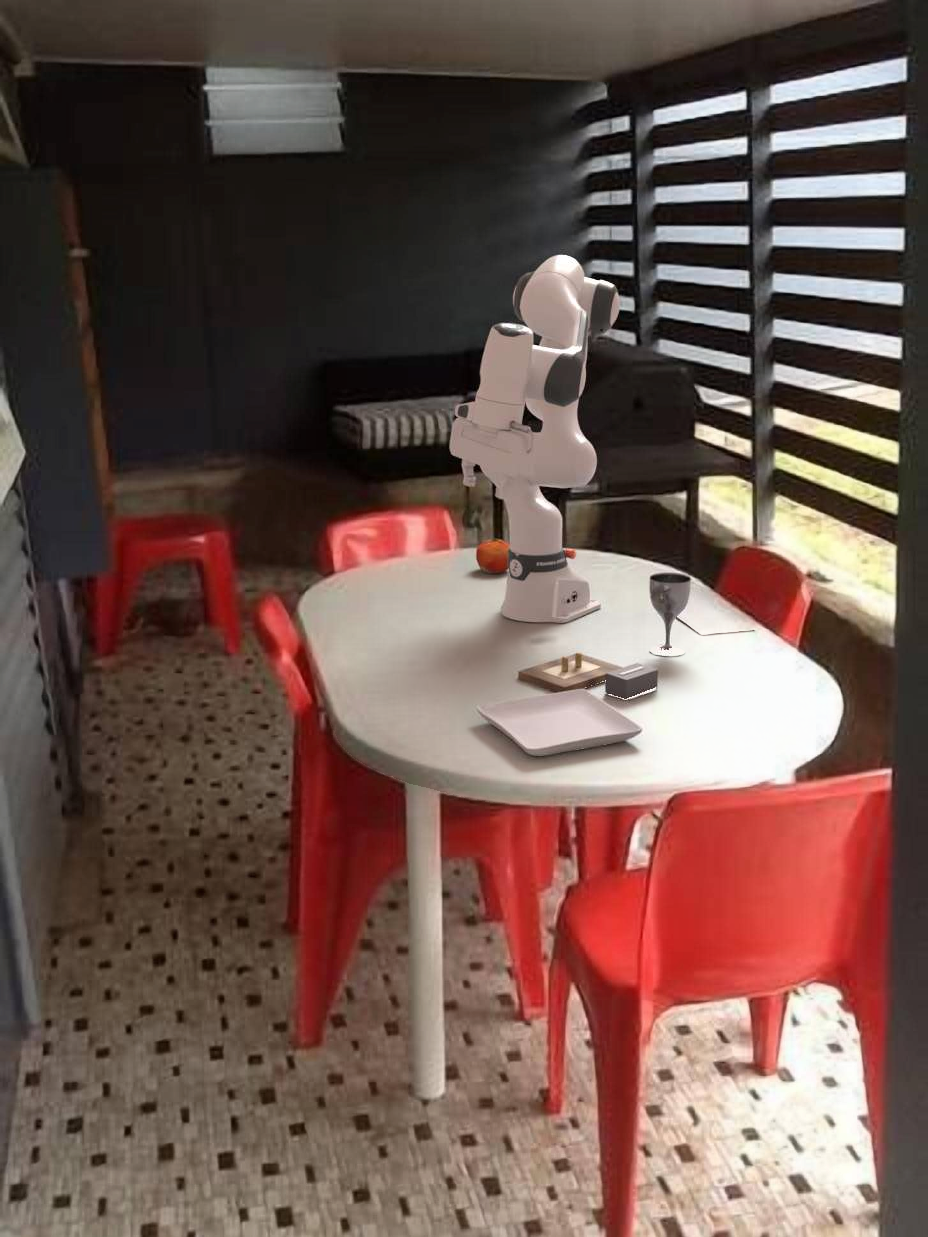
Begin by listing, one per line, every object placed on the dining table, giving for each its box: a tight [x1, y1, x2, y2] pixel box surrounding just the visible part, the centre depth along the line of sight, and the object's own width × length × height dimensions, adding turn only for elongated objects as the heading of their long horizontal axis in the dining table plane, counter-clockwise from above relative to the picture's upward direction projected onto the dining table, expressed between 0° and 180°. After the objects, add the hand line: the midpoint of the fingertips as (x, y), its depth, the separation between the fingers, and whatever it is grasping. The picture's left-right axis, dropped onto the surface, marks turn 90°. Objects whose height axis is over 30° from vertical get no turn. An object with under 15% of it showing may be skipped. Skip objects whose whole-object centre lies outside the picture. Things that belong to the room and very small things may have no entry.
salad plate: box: [476, 688, 643, 757], centre depth 227 cm, size 21×21×3 cm
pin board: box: [517, 652, 624, 693], centre depth 254 cm, size 16×12×4 cm
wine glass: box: [648, 572, 692, 650], centre depth 267 cm, size 8×8×15 cm
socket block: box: [604, 662, 659, 699], centre depth 246 cm, size 8×5×4 cm, turn 132°
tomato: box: [475, 538, 510, 574], centre depth 327 cm, size 9×9×8 cm
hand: (484, 491), depth 248 cm, fingers open, 8 cm apart
